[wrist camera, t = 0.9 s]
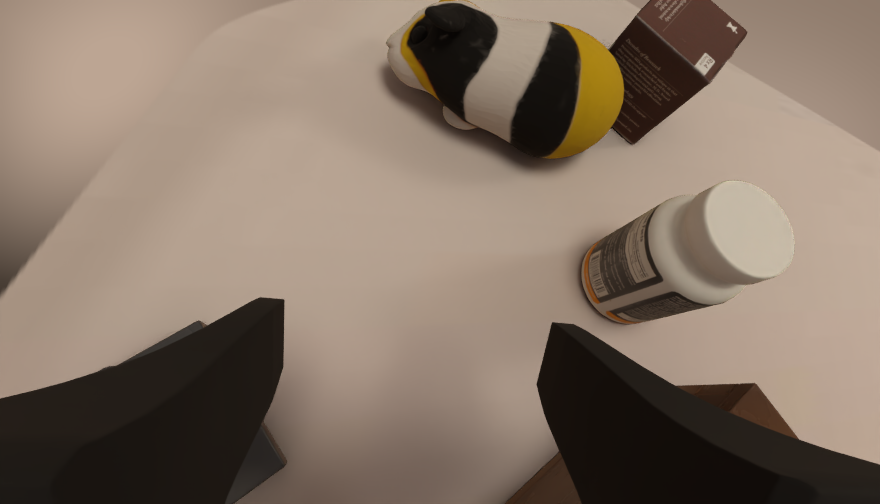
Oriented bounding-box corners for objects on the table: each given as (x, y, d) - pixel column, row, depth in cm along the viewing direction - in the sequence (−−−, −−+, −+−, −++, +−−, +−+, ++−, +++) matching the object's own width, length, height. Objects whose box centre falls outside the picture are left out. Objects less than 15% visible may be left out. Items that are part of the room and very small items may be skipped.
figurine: (403, 31, 31) (406, -81, 24) (603, 85, 32) (669, -8, 24) (371, 129, 29) (363, 40, 21) (589, 185, 30) (657, 118, 22)
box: (611, 52, 35) (679, -31, 28) (668, 103, 35) (751, 31, 28) (570, 93, 32) (634, 13, 26) (631, 148, 32) (712, 81, 25)
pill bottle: (668, 275, 29) (820, 221, 20) (633, 344, 27) (786, 318, 18) (600, 223, 30) (722, 145, 20) (561, 287, 27) (677, 233, 18)
